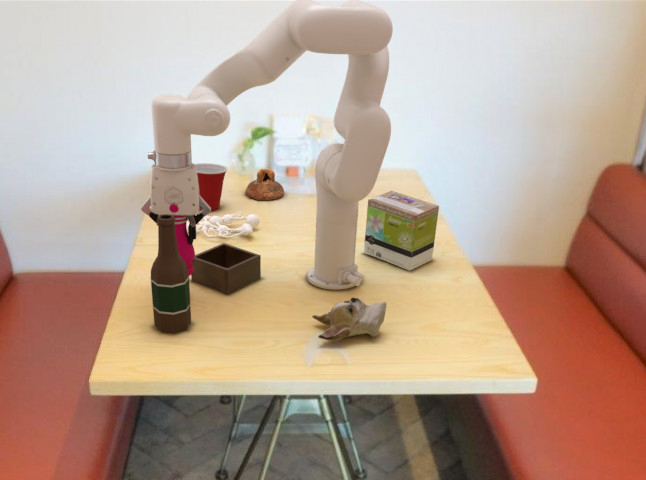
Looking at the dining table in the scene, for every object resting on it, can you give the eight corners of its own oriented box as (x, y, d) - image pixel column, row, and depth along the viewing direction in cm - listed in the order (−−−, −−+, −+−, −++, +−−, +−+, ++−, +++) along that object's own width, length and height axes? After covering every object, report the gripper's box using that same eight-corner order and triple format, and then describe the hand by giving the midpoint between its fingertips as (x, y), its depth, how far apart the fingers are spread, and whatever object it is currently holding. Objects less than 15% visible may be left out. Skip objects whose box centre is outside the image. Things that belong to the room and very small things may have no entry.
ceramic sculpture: (392, 306, 160) (317, 312, 159) (390, 344, 165) (318, 350, 164) (381, 284, 169) (311, 290, 168) (380, 321, 174) (312, 326, 173)
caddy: (260, 278, 191) (260, 255, 188) (228, 294, 183) (227, 270, 180) (224, 265, 197) (223, 242, 194) (191, 280, 189) (190, 257, 186)
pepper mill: (179, 281, 176) (174, 192, 165) (156, 273, 179) (149, 184, 168) (202, 271, 180) (198, 184, 170) (179, 263, 184) (174, 176, 173)
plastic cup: (236, 206, 233) (235, 165, 226) (213, 216, 225) (211, 174, 219) (206, 198, 238) (204, 158, 231) (183, 209, 230) (180, 167, 223)
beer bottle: (175, 337, 166) (168, 226, 153) (146, 327, 169) (137, 218, 156) (198, 323, 171) (193, 215, 158) (170, 313, 175) (163, 207, 162)
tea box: (362, 254, 205) (366, 198, 197) (386, 244, 211) (391, 189, 203) (410, 272, 197) (416, 213, 189) (433, 260, 203) (440, 203, 195)
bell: (288, 190, 246) (288, 166, 242) (278, 202, 236) (278, 178, 232) (251, 186, 248) (251, 162, 244) (240, 198, 238) (240, 174, 234)
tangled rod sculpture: (177, 241, 212) (176, 227, 210) (195, 218, 223) (193, 204, 221) (248, 247, 209) (247, 233, 206) (262, 224, 220) (261, 209, 217)
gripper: (129, 163, 163) (136, 247, 173) (213, 165, 163) (215, 249, 173) (135, 152, 169) (141, 234, 179) (216, 154, 169) (218, 236, 179)
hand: (178, 241), depth 176 cm, fingers closed on pepper mill, 5 cm apart
